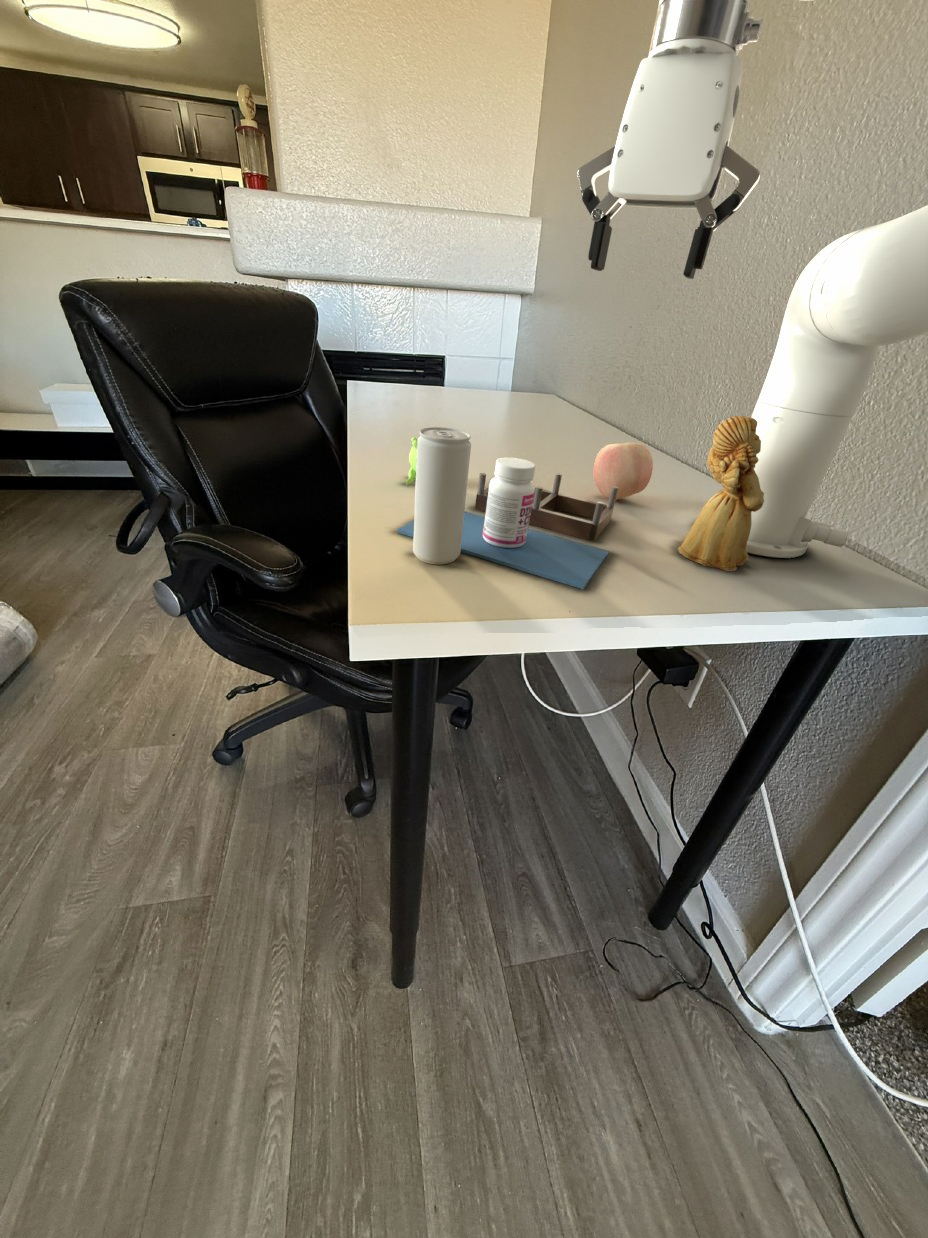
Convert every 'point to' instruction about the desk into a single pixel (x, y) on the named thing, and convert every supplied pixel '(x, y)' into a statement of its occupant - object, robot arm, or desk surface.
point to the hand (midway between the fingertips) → (641, 273)
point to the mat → (532, 553)
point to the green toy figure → (412, 461)
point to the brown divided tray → (557, 521)
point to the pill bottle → (509, 503)
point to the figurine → (728, 498)
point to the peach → (622, 469)
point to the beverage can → (440, 493)
